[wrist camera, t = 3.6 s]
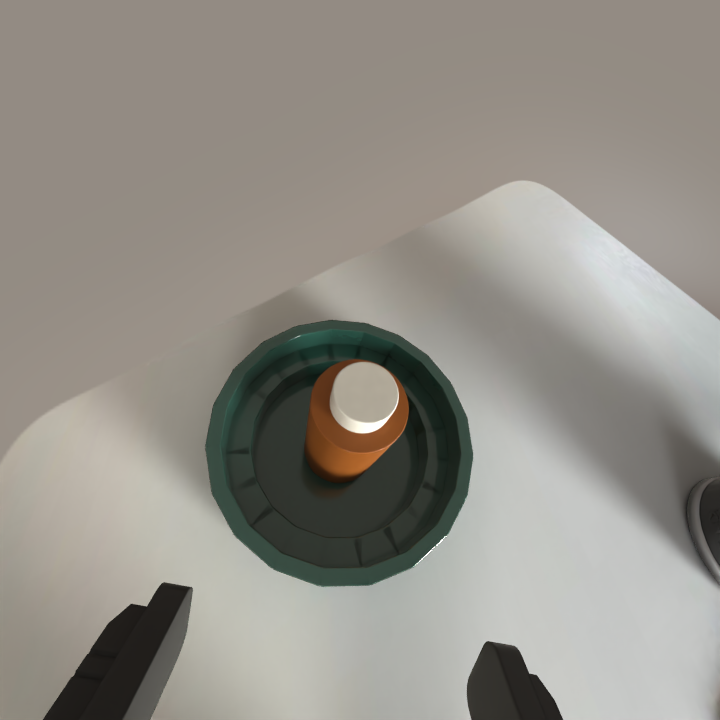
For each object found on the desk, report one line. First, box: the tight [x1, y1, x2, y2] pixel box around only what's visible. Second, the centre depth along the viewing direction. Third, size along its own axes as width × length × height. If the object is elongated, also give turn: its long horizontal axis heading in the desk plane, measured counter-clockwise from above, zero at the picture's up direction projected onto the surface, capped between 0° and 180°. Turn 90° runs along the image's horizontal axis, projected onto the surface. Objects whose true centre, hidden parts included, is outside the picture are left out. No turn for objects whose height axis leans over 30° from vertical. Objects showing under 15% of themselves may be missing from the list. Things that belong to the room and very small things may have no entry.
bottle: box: [304, 359, 409, 483], centre depth 20 cm, size 5×5×10 cm
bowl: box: [205, 320, 473, 587], centre depth 23 cm, size 16×16×4 cm
